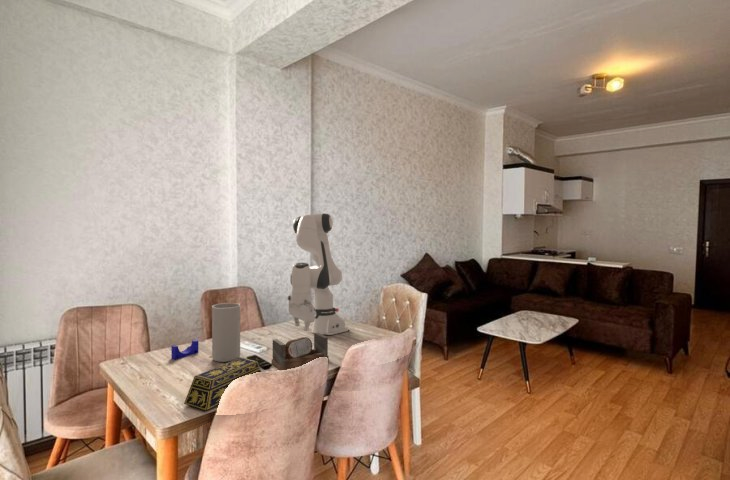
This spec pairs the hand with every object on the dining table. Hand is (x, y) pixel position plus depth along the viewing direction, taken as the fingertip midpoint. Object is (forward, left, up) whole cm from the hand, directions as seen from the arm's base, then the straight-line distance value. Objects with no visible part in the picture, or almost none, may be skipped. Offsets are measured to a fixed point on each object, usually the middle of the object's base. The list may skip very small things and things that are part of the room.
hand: (301, 328), depth 179 cm
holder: (+1, 0, -16) cm, 16 cm away
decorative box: (+37, +13, -16) cm, 42 cm away
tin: (0, +1, -13) cm, 13 cm away
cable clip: (+43, -39, -16) cm, 61 cm away
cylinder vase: (+28, -24, -16) cm, 40 cm away
